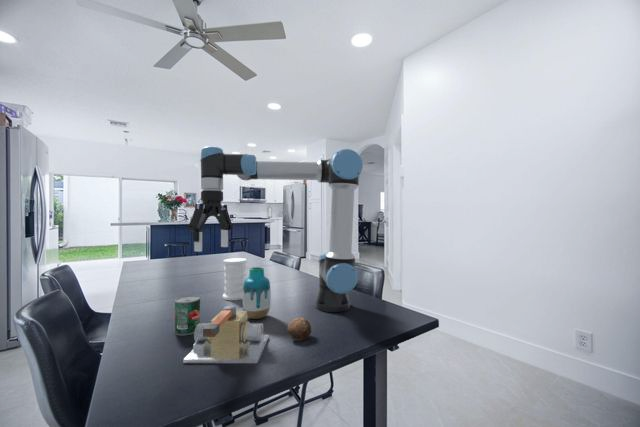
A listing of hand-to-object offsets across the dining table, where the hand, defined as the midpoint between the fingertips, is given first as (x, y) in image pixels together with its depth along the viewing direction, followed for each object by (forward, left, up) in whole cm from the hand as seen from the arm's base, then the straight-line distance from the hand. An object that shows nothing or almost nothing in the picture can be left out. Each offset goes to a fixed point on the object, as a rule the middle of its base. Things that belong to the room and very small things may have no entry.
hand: (212, 249), depth 98 cm
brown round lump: (-32, +10, -28) cm, 44 cm away
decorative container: (+3, -34, -28) cm, 44 cm away
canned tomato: (+7, +5, -28) cm, 29 cm away
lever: (-12, +24, -17) cm, 33 cm away
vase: (-14, -7, -28) cm, 32 cm away
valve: (-12, +18, -28) cm, 35 cm away
